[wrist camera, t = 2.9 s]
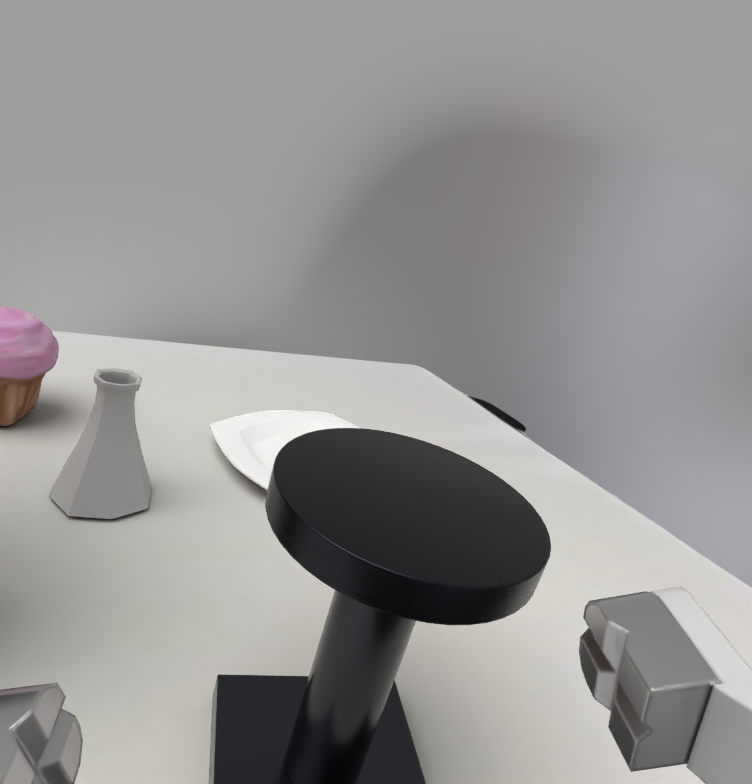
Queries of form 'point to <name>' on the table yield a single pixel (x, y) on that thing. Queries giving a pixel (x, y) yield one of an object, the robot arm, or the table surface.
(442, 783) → the table surface
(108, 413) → the flask
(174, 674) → the table surface
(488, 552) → the display stand
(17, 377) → the cupcake
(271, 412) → the plate
